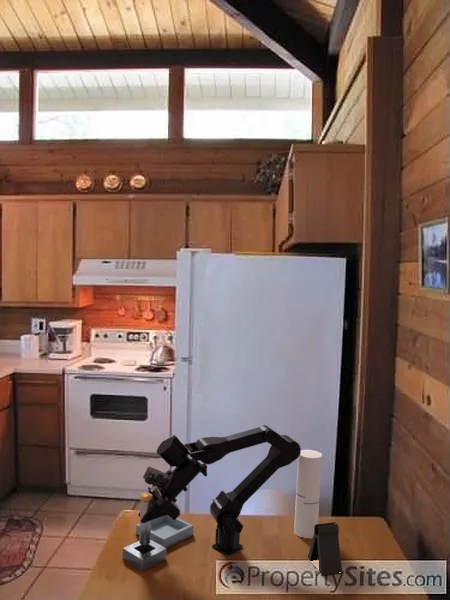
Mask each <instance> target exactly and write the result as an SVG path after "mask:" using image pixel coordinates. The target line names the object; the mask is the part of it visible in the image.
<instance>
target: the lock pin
mask: <svg viewBox="0 0 450 600" xmlns="http://www.w3.org/2000/svg"><path fill="white" fill-rule="evenodd" d="M152 499H153V495H152V494H151V493H148V492H142V493H141V494H140V495H139V500H140V505H139V506H140V509H139V510H140V511H139V513H140V517H139V523H140V535H139V536H138V537H139V540H138V541H139V543H140V544H142V545H147V544H149V543H150V536H151V521H148V522H146V523H142V522H141V519H142V517H143V516H144V515H145V513H146V512H147V511H148V510H149V508H150V507H151V506H152Z"/></svg>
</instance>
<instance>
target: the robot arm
mask: <svg viewBox="0 0 450 600" xmlns="http://www.w3.org/2000/svg"><path fill="white" fill-rule="evenodd" d="M265 443H268V444H269V445H270V447H269V450H268V453H267V454H266V457H264V458H263V460H262V461H261V462H259V464H258V465H257V466H256V467H255V468H254V469H252V471H251V472H250V473H249V474H248V475H247V476H246V477H245V478H243V480H242V481H240V483H238V485H236V486H235V488H234V489H233V490H231V491H229V492H225V491H224V490H221V491H220V492H219V494H218V495H217V496H216V497H215V498H212V502H211V504H210V506H209V513H210V515H211V516H212V518H213V519H214V521H215V522H216V529H215V541H214V542H215V543H213V544H212V546H211V547H212V548H213V549H215V550H217V551H219V552H221V553H223V554H225V555H226V556H230V555H232V554H234V553H235V552H237V551H239V550H241V549H243V547H244V546H243V544H241V543H240V541H241V540H240V538H241V535H240V534H241V533H242V531H243V528H244V525H243V523H242V522H241V521H240V520H239V517H240V515H241V513H242V510H243V506H244V505H245V503H247V501H249V499H251V498H252V496H253V495H254V494H255V493H257V491H258V490H259V489H261V487H262V486H264V484H265V483H266V482H267V481H268V480H269V479H270V478H271V477H273V475H274V474H275V473H276V472H277V471H278V470H279V469H281V468H284V467H287V466H290V464H292V463H293V462H295V461H296V460H298V457H299V456H300V454H301V452H300V451H301V450H302V448H301V445H300V443H299V442H297V441H296V440H295V439H293V438H292V437H290V436H289V435H287V434H279V433H278V432H277V431H276V430H273V429H272V428H271V427H270V426H268V425H266V424H264V425H260V426H258V427H254V428H252V429H247V430H243V431H241V432H238V433H235V434H230V435H227V436H222V437H220V436H206V437H201V438H199V439H197V440H196V441H192V442H189V443H187V442H186V443H183V442H182V441H180V439H179V438H178V436H177V435H176V434H173V435H172V436H171V437H169V438H166V439H165V440H162V442H161V443H160V444H159V445H158V447H157V449H156V454H157V455H158V457H160V458H161V459H162V460H163V461H164V462H165V463H166V464H168V466H169V467H171V468H174V467H175V468H174V469H173V470H171V469H168V470H167V471H165V472H164V471H161V470H159V469H156V468H154V467H151V466H148V467H147V468H146V470H145V472H144V474H143V477H142V478H143V479H144V483H145V484H147V485H151V487H150V486H147V490H148V491H147V493H151V494H152V495H153V499H152V506H151V507H150V508H149V510H148V511H147V512H146V513H145V515H144V516H143V517H142V519H141V522H142V523H146V522H148V521H151V520H153V519H156V518H159V517H162V516H165V515H168V516H170V517H171V518H172V519H173V520H176V519H177V518H180V516H181V510H180V508H179V506H178V505H177V503H176V502H177V501H178V500H177V499H178V498H177V497H179V495H180V494H181V493H182V492H185V493H186V492H187V491H188V490H189V489H188V487H187V486H188V485H189V484H191V483H192V481H193V480H194V479H195V478H196V477H197V476H198V475H199V474H200V473H201V474H202V475H203V476H204V477H207V476H208V465H212V464H214V463H216V462H219V461H220V460H222V459H223V458H224V457H226V456H227V455H228V454H230V453H234V452H237V451H240V450H243V449H248V448H251V447H255V446H258V445H262V444H265ZM137 515H138V517H139V518H140V512H139V513H138V514H137Z"/></svg>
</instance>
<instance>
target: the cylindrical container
mask: <svg viewBox="0 0 450 600" xmlns="http://www.w3.org/2000/svg"><path fill="white" fill-rule="evenodd" d="M300 452H301V454H300V456H299V457H298V458H297V471H296V472H297V473H296V485H295V486H296V489H295V503H294V506H295V509H294V524H293V525H294V528H293V534H294V535H295V536H297V537H298V536H299V537H298V538H301V537H304V538H303V539H306V538H310V539H313V538H312V537H313V536H314V526H315V524H319V510H320V509H319V508H320V491H321V477H322V464H323V463H322V459H323V453H321V452H320V451H317V450H314V449H301V451H300Z"/></svg>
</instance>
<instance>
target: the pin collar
mask: <svg viewBox="0 0 450 600" xmlns="http://www.w3.org/2000/svg"><path fill="white" fill-rule="evenodd" d="M122 560H124V561H126V562H127V563H129V564H130V565H131V566H134V567H135V568H137V569H138V570H141V571H145V570H148V569H149V568H151V567H153V566H156V565H157V564H159V563H161V562H163V561H165V560H167V548H165V547H163V546H161V545H159V544H157V543H156V542H154V541H152V540H150V543H149V544H147V545H142V544H140V543H139V540H138V541H136V542H133V543H132V544H129V545H127V546H125V547H122Z"/></svg>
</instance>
